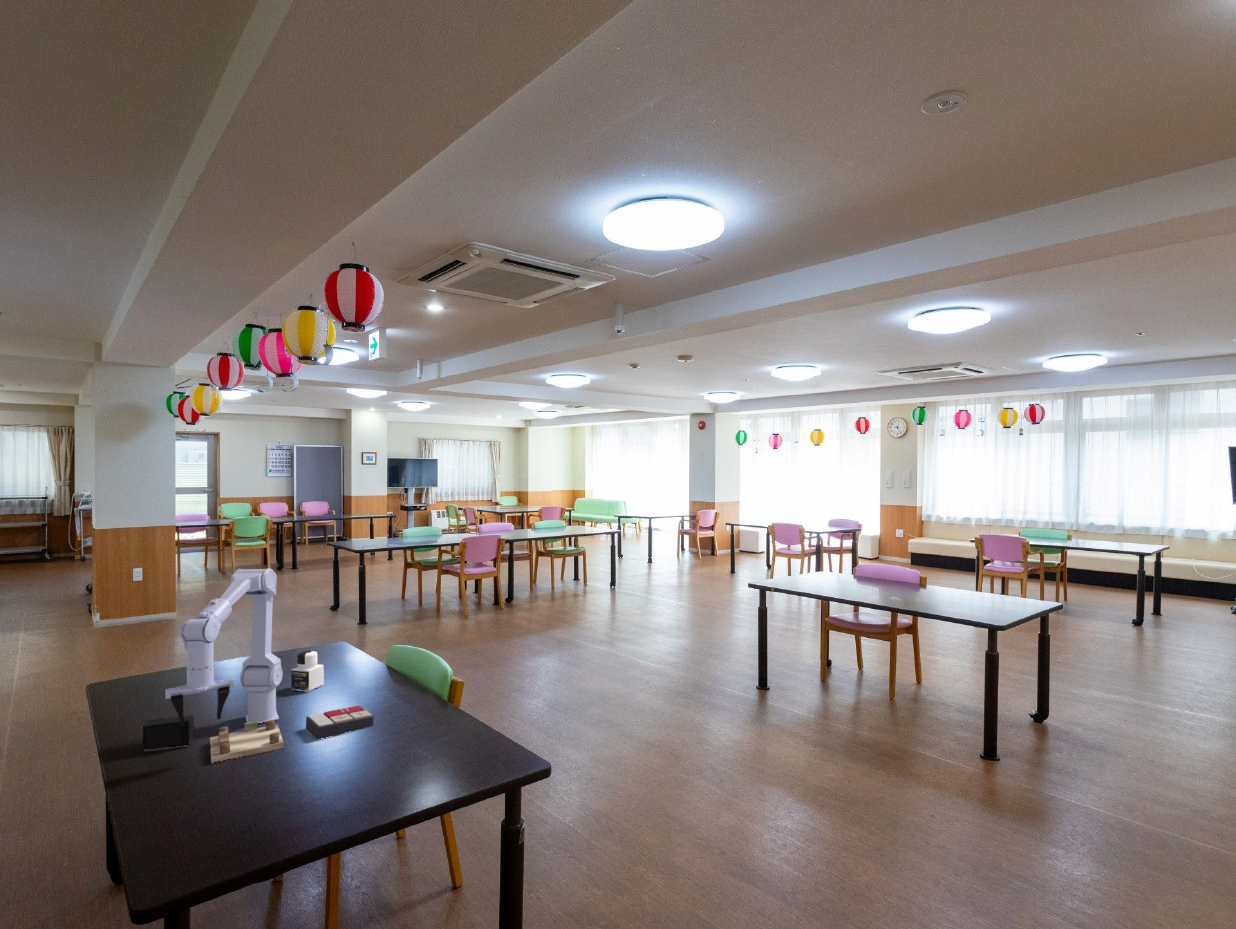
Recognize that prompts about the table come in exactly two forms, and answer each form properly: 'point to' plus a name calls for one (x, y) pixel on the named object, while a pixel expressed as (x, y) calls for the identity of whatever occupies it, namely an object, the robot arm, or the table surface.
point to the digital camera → (167, 732)
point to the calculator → (338, 721)
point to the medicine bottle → (307, 672)
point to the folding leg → (223, 735)
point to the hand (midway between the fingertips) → (200, 721)
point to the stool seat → (247, 742)
